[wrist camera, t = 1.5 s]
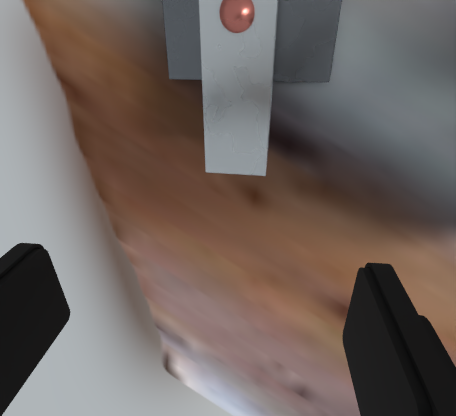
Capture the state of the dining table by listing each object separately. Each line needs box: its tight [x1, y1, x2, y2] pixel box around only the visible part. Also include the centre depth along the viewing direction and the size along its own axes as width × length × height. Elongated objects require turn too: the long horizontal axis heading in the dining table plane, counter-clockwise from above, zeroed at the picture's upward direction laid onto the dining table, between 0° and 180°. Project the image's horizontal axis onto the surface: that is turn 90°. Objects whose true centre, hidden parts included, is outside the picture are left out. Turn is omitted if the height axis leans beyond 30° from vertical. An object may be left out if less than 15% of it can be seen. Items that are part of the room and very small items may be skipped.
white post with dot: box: [199, 0, 278, 176], centre depth 18 cm, size 4×14×4 cm, turn 0°
